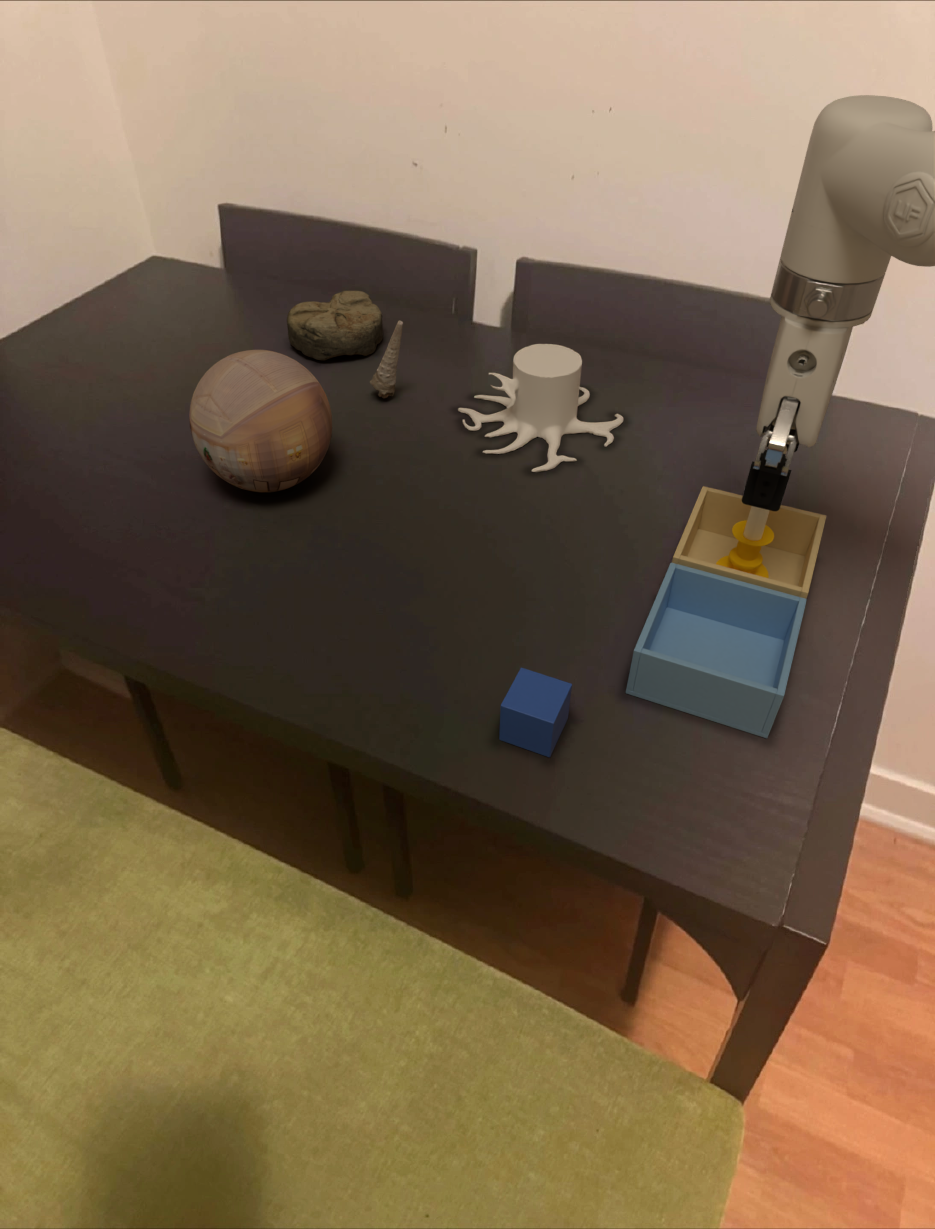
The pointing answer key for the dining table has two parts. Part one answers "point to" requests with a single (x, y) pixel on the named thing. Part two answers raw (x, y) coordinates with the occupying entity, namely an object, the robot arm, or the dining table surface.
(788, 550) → the cream bin
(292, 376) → the ornament
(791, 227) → the robot arm
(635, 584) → the dining table surface
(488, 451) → the tree stump
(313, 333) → the stone
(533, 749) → the blue block
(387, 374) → the seashell
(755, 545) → the candle
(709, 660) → the blue bin
